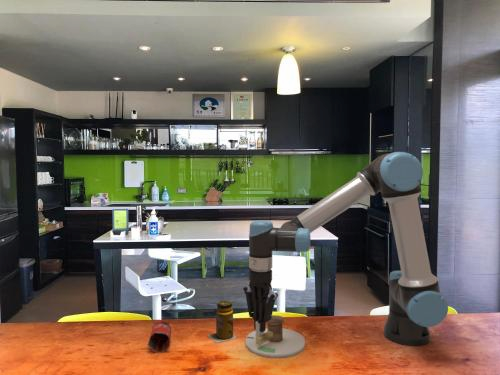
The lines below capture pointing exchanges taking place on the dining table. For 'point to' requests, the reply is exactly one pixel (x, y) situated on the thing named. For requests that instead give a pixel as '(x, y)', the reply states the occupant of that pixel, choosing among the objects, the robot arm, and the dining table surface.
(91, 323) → the dining table surface
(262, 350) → the dial plate
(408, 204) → the robot arm
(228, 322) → the condiment
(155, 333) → the beverage can
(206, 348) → the dining table surface
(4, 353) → the dining table surface
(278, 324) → the tuning knob
